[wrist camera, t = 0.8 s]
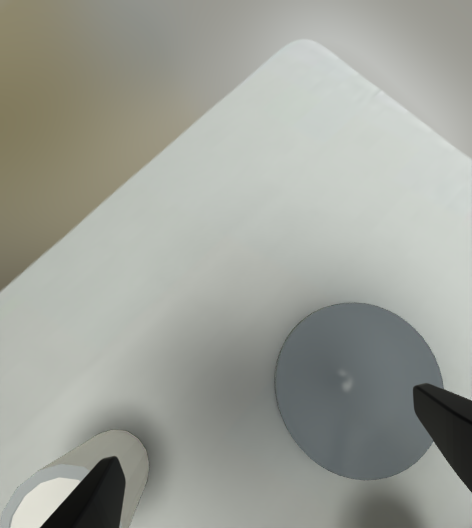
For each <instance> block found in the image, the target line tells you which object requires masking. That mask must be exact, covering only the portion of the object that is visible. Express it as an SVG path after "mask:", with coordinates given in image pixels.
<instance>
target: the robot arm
mask: <svg viewBox="0 0 472 528" xmlns="http://www.w3.org/2000/svg"><path fill="white" fill-rule="evenodd" d="M413 403H414V411H415V414H416V416H417V417H418V419H419V420H420V422H421V423H422V425H423V426H424V428H425V429H426V431H427V432H428V433H429V435H430V436H431V438H432V439H433V441H434V442H435V444H436V445H437V447H438V448H439V450H440V451H441V453H442V454H443V456H444V457H445V458H446V460H447V461H448V463H449V464H450V466H451V467H452V468H453V470H454V471H455V472H456V474H457V475H458V476H459V477H460V479H461V480H462V481H463V482H464V484H465V485H466V486H467V487H468V489H469V490H470V491H471V492H472V401H471V400H469V399H467V398H464V397H462V396H459V395H457V394H454V393H452V392H449V391H447V390H444V389H442V388H439V387H437V386H434V385H432V384H429V383H423V384H419V385H415V386H414V387H413ZM125 486H126V480H125V475H124V473H123V470H122V467H121V465H120V462H119V459H118V457H116V456H111V457H106V458H103V459H101V460H100V461H99V462H98V463H97V464H96V465H95V466H94V468H93V469H92V470H91V471H90V472H89V473H88V474H87V475H86V476H85V478H84V479H83V480H82V481H81V482H80V483H79V484H78V485H77V487H76V488H75V489H74V490H73V491H72V492H71V493H70V494H69V495H68V497H67V498H66V499H65V500H64V501H63V502H62V503H61V504H60V506H59V507H58V508H57V509H56V510H55V511H54V512H53V513H52V514H51V516H50V517H49V518H48V519H47V520H46V521H45V522H44V523H43V525H42V526H41V527H40V528H119V526H120V520H121V513H122V506H123V500H124V493H125Z"/></svg>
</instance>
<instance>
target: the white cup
mask: <svg viewBox="0 0 472 528" xmlns="http://www.w3.org/2000/svg"><path fill="white" fill-rule="evenodd" d="M111 456H116V457H118V459H119V462H120V465H121V467H122V470H123V473H124V475H125V480H126V486H125V493H124V500H123V506H122V513H121V520H120V526H119V528H129V526H130V523H131V521H132V518H133V516H134V513H135V510H136V508H137V505H138V503H139V500H140V498H141V495H142V493H143V490H144V487H145V485H146V482H147V478H148V471H149V461H148V456H147V451H146V449H145V448H144V446H143V445H142V443H141V442H140V440H139V439H138V438H137V437H135V436H134V435H132V434H131V433H129V432H128V431H123V430H115V429H113V430H109V431H106V432H103V433H100V434H98V435H96V436H95V437H93V438H91V439H90V440H88V441H86V442H85V443H83V444H82V445H80V446H78V447H77V448H75V449H73V450H72V451H70V452H68V453H67V454H65V455H63V456H62V457H60V458H58V459H57V460H55V461H53V462H52V463H50V464H48V465H47V466H45V467H43V468H42V469H40V470H38V471H37V472H36V473H35V474H33V475H32V476H31V477H30V478H28V479H27V480H26V481H25V482H23V483H22V484H21V485H20V486H19V487H17V489H16V490H15V492H14V494H13V495H12V497H11V498H10V500H9V502H8V503H7V505H6V507H5V508H4V510H3V511H2V516H1V520H0V528H40V527H41V526H42V525H43V523H44V522H45V521H46V520H47V519H48V518H49V517H50V516H51V514H52V513H53V512H54V511H55V510H56V509H57V508H58V507H59V506H60V504H61V503H62V502H63V501H64V500H65V499H66V498H67V497H68V495H69V494H70V493H71V492H72V491H73V490H74V489H75V488H76V487H77V485H78V484H79V483H80V482H81V481H82V480H83V479H84V478H85V476H86V475H87V474H88V473H89V472H90V471H91V470H92V469H93V468H94V466H95V465H96V464H97V463H98V462H99V461H100V460H101V459H103V458H106V457H111Z"/></svg>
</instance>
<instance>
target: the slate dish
mask: <svg viewBox="0 0 472 528" xmlns="http://www.w3.org/2000/svg"><path fill="white" fill-rule="evenodd" d="M423 383H429V384H432V385H434V386H437V387H439V388H442V389H444V388H443V381H442V376H441V373H440V369H439V366H438V364H437V361H436V359H435V356H434V355H433V353H432V351H431V349H430V347H429V346H428V344H427V343H426V342H425V340H424V339H423V337H422V336H421V335H420V334H419V333H418V332H417V331H416V330H415V329H414V328H413V327H412V326H411V325H410V324H409V323H407V322H406V321H405V320H403V319H402V318H400V317H399V316H398V315H396V314H394V313H392V312H390V311H388V310H386V309H383V308H380V307H378V306H373V305H369V304H362V303H344V304H337V305H332V306H328V307H325V308H322V309H320V310H318V311H316V312H314V313H312V314H310V315H309V316H307V317H306V318H305V319H303V320H302V321H301V322H300V323H299V324H298V325H297V326H296V327H295V328H294V329H293V330H292V331H291V333H290V334H289V336H288V337H287V339H286V340H285V342H284V344H283V347H282V349H281V351H280V354H279V357H278V360H277V365H276V372H275V392H276V398H277V403H278V407H279V410H280V413H281V416H282V418H283V420H284V422H285V425H286V427H287V429H288V431H289V432H290V434H291V436H292V437H293V439H294V440H295V442H296V443H297V444H298V446H299V447H300V448H301V449H302V450H303V451H304V452H305V453H306V454H307V455H308V456H309V457H310V458H311V459H312V460H313V461H315V462H316V463H317V464H319V465H320V466H322V467H323V468H325V469H327V470H329V471H331V472H333V473H335V474H338V475H340V476H344V477H347V478H351V479H359V480H377V479H382V478H387V477H390V476H393V475H396V474H398V473H400V472H402V471H404V470H406V469H408V468H409V467H410V466H412V465H413V464H415V463H416V462H417V461H418V460H419V459H420V458H421V457H422V456H423V455H424V454H425V453H426V451H427V450H428V449H429V447H430V446H431V444H432V443H433V439H432V438H431V436H430V435H429V433H428V432H427V431H426V429H425V428H424V426H423V425H422V423H421V422H420V420H419V419H418V417H417V416H416V414H415V411H414V403H413V387H414V386H415V385H419V384H423Z"/></svg>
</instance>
